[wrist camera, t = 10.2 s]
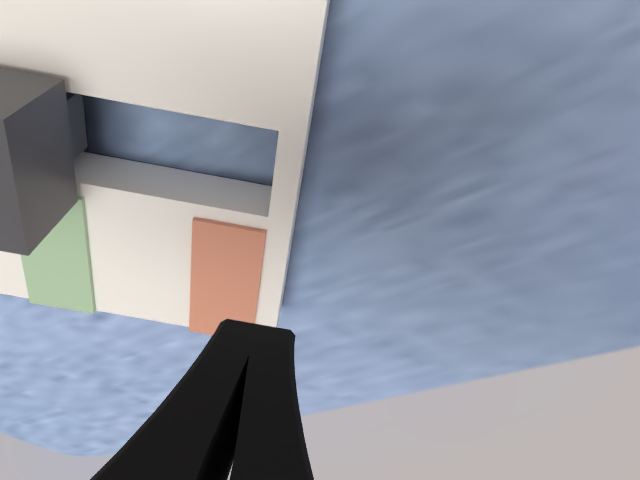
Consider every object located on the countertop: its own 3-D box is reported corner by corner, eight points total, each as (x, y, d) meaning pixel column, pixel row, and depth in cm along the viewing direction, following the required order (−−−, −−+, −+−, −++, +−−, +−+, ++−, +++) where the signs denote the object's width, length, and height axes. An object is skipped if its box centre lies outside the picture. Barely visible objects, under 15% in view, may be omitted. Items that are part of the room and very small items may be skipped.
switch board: (343, -87, 14) (339, -80, 13) (281, 307, 22) (273, 345, 20) (-112, -174, 14) (-183, -180, 12) (-11, 254, 22) (-45, 289, 20)
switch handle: (92, 60, 17) (2, 119, 13) (101, 175, 19) (28, 256, 15) (14, 45, 17) (-100, 101, 13) (32, 162, 19) (-60, 240, 15)
